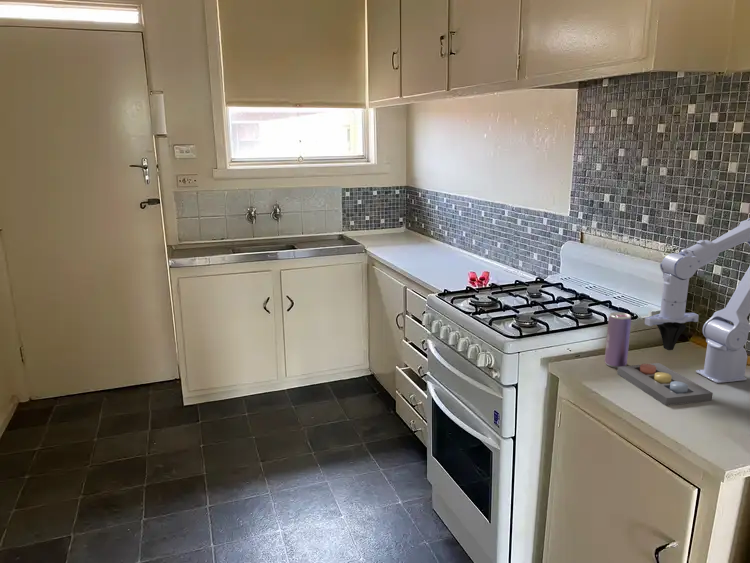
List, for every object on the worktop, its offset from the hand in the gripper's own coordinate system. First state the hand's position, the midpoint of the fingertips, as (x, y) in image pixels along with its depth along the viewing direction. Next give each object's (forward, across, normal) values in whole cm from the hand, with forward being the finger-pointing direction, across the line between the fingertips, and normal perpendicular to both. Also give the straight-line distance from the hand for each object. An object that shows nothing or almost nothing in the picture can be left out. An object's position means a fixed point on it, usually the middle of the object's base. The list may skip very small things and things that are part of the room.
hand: (668, 348), depth 151 cm
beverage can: (+10, -6, +14) cm, 17 cm away
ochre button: (+8, -3, -3) cm, 9 cm away
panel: (+9, -3, -3) cm, 10 cm away
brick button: (+8, -3, +3) cm, 9 cm away
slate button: (+8, -3, -9) cm, 12 cm away
